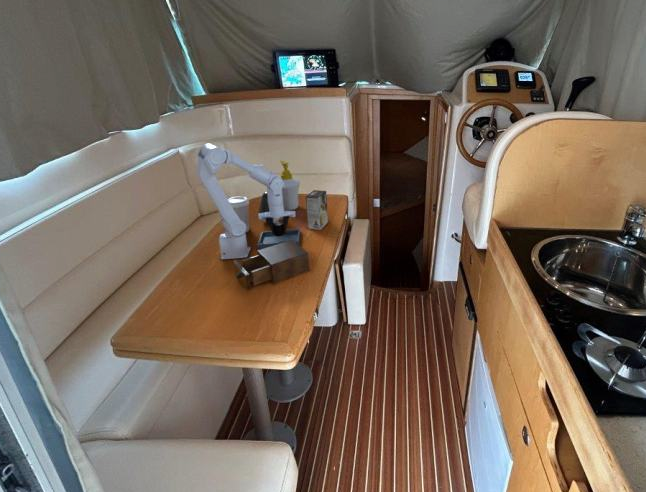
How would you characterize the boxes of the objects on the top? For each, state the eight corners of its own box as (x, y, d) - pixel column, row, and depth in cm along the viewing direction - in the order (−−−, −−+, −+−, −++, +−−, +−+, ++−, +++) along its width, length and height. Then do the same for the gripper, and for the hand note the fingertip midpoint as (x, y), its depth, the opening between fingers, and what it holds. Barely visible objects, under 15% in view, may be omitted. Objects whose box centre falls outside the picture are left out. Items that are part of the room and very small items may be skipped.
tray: (257, 248, 147) (257, 244, 146) (262, 235, 158) (261, 231, 157) (298, 245, 150) (298, 241, 149) (300, 233, 161) (300, 229, 160)
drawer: (243, 291, 118) (241, 276, 116) (232, 276, 126) (229, 262, 124) (283, 276, 126) (281, 262, 124) (270, 263, 134) (268, 250, 132)
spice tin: (280, 236, 150) (279, 226, 148) (272, 235, 151) (271, 224, 150) (286, 232, 154) (285, 222, 152) (278, 231, 155) (277, 220, 153)
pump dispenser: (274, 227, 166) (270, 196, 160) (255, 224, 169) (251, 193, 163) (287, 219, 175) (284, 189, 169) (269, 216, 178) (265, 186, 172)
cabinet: (274, 283, 124) (271, 264, 121) (259, 268, 133) (257, 250, 130) (309, 270, 132) (308, 252, 129) (293, 256, 141) (292, 239, 138)
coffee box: (316, 220, 173) (313, 189, 167) (328, 222, 172) (326, 190, 166) (307, 228, 165) (305, 196, 159) (321, 230, 164) (318, 197, 158)
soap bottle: (295, 202, 196) (291, 158, 187) (306, 209, 187) (302, 163, 178) (272, 207, 188) (267, 161, 180) (282, 214, 179) (277, 167, 170)
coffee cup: (257, 229, 164) (253, 198, 158) (239, 237, 156) (234, 205, 151) (243, 224, 168) (239, 194, 163) (225, 231, 161) (220, 200, 155)
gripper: (255, 207, 142) (260, 238, 147) (293, 205, 145) (296, 235, 150) (258, 201, 149) (262, 231, 154) (294, 199, 152) (297, 228, 157)
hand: (279, 232), depth 152 cm, fingers closed on spice tin, 4 cm apart
